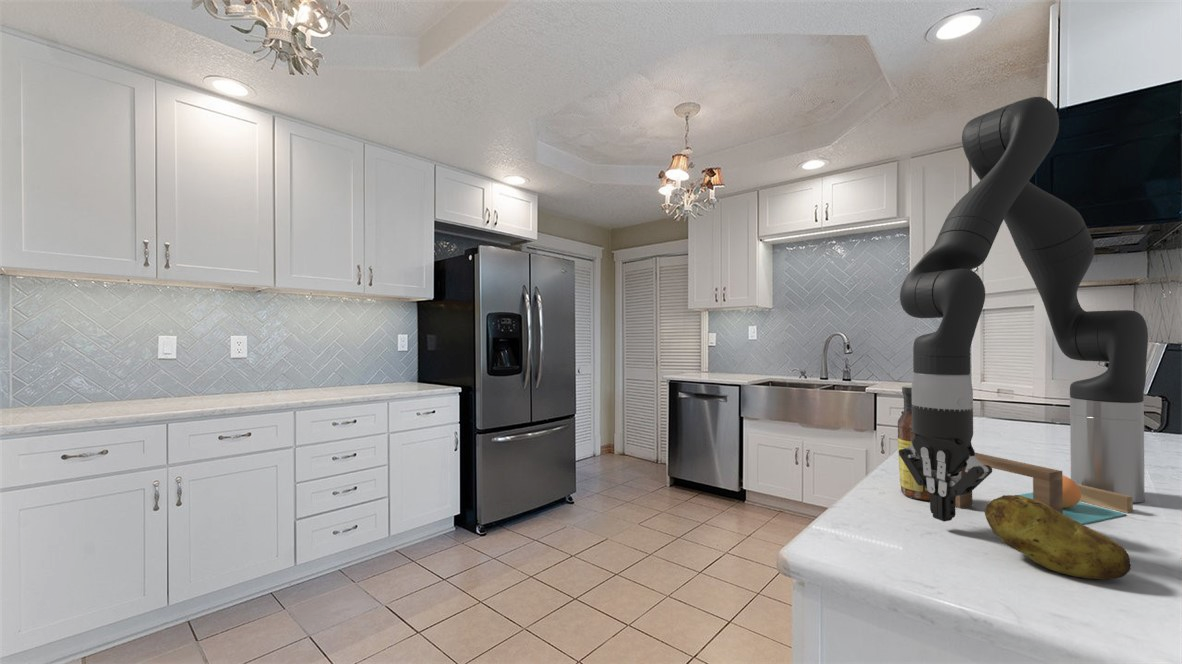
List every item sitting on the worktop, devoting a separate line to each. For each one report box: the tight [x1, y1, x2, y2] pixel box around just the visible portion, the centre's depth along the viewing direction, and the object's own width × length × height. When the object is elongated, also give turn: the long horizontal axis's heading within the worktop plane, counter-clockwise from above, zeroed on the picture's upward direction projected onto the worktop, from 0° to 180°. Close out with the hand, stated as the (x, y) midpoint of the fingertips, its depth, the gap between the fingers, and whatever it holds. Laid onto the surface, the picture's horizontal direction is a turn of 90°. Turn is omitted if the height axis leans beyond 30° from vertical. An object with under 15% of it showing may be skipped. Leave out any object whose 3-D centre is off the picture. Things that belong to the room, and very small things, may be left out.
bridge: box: [955, 452, 1063, 514], centre depth 78 cm, size 3×14×9 cm, turn 19°
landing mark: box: [992, 492, 1127, 525], centre depth 83 cm, size 12×12×1 cm
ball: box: [1062, 474, 1081, 508], centre depth 83 cm, size 6×6×6 cm
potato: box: [984, 494, 1132, 580], centre depth 62 cm, size 8×13×8 cm, turn 27°
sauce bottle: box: [897, 384, 930, 501], centre depth 89 cm, size 6×6×20 cm
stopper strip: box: [1077, 484, 1134, 514], centre depth 86 cm, size 2×11×2 cm, turn 19°
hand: (942, 519), depth 74 cm, fingers closed
